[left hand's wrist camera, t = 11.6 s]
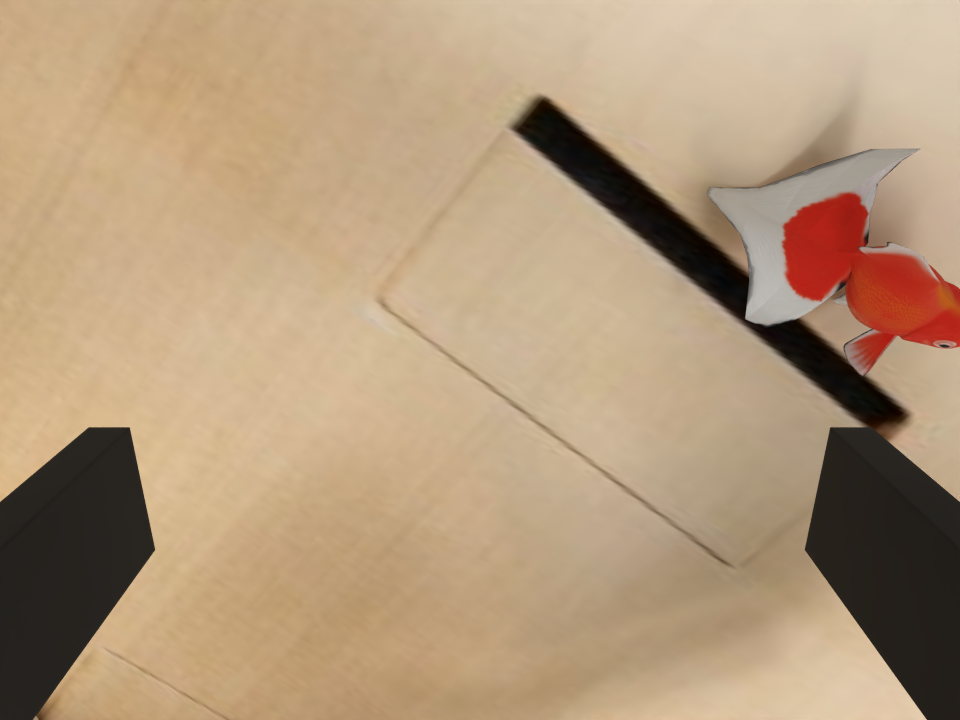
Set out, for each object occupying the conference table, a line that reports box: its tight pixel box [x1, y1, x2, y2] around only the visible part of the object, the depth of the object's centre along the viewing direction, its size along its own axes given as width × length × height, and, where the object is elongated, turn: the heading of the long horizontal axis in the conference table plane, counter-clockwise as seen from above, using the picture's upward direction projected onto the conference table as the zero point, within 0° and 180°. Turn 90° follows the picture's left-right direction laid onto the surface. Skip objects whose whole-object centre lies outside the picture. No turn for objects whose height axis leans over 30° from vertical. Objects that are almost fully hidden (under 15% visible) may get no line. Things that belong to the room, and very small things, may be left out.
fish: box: [707, 149, 960, 377], centre depth 37 cm, size 11×16×10 cm
